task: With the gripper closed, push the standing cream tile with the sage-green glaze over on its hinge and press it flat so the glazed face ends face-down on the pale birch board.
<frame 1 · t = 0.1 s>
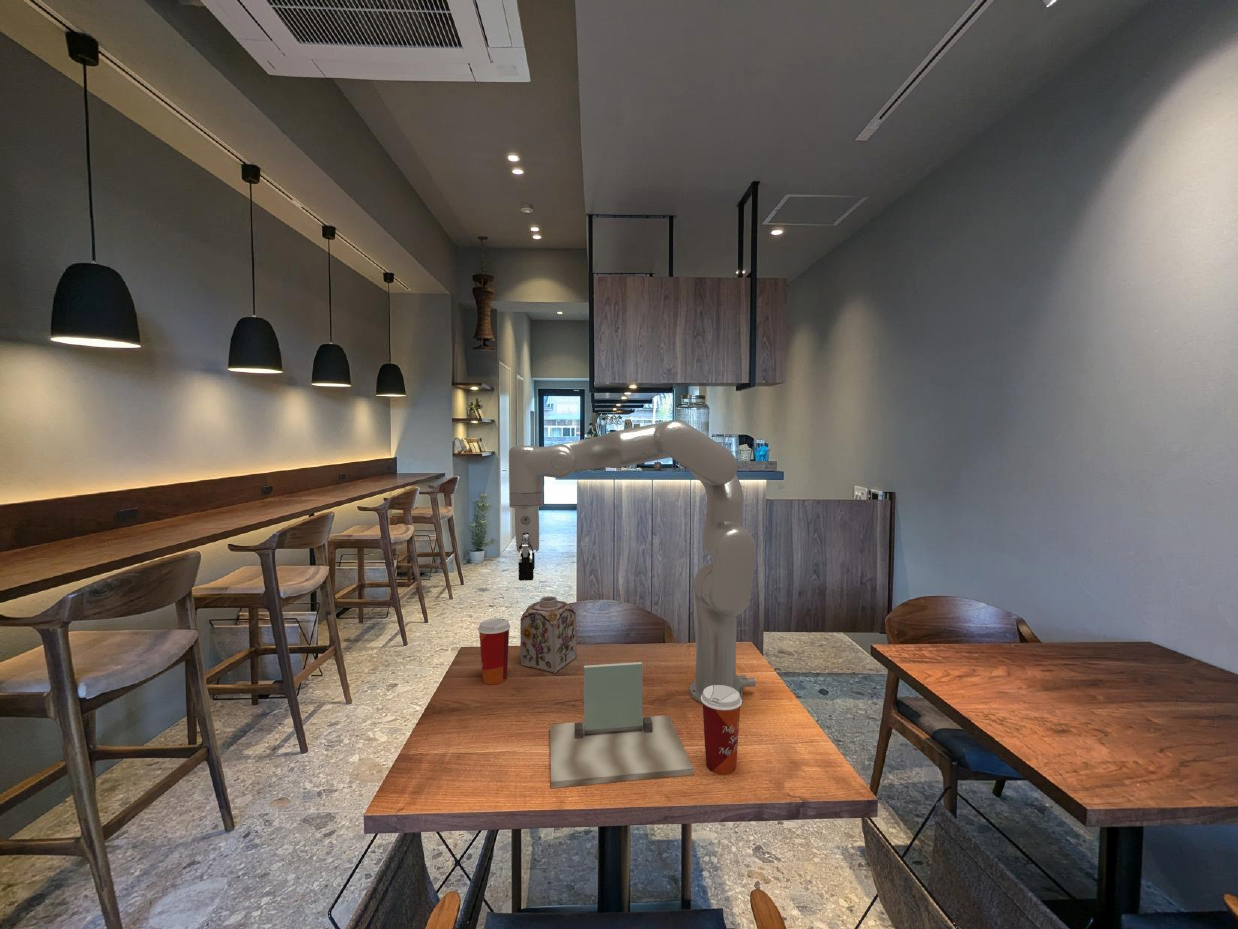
hand: (526, 574, 119), 31 cm above the table, tool pointing down, fingers open, 9 cm apart
tile board: (616, 750, 103), on the table
paper cup: (721, 766, 99), on the table
coffee cup: (494, 680, 135), on the table
glazed tile: (613, 698, 108), point 8 cm above the table, hinge at 0.0°
decorative jar: (549, 662, 146), on the table
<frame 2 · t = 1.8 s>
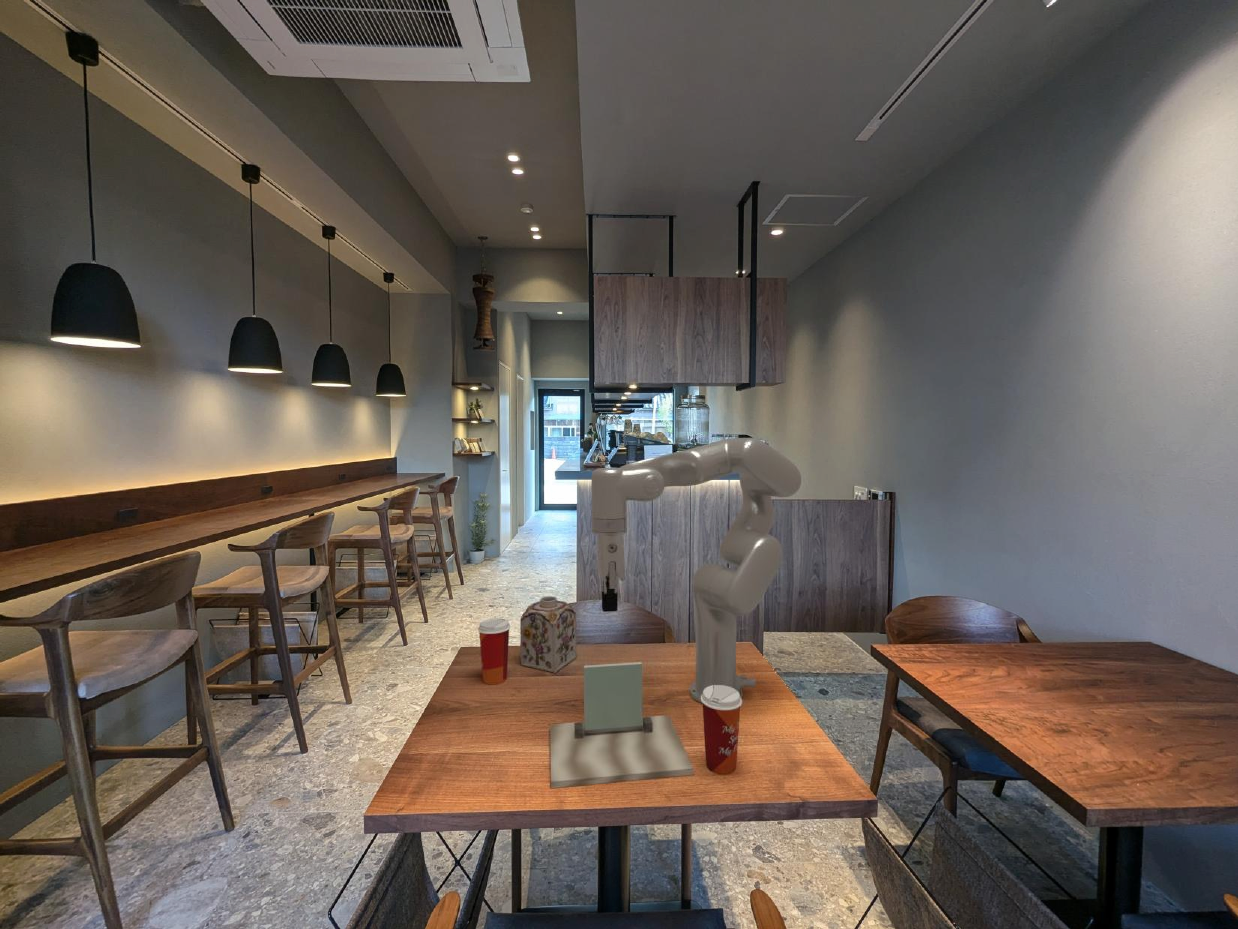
hand: (609, 610, 112), 25 cm above the table, tool pointing down, fingers closed
nothing on the table moved.
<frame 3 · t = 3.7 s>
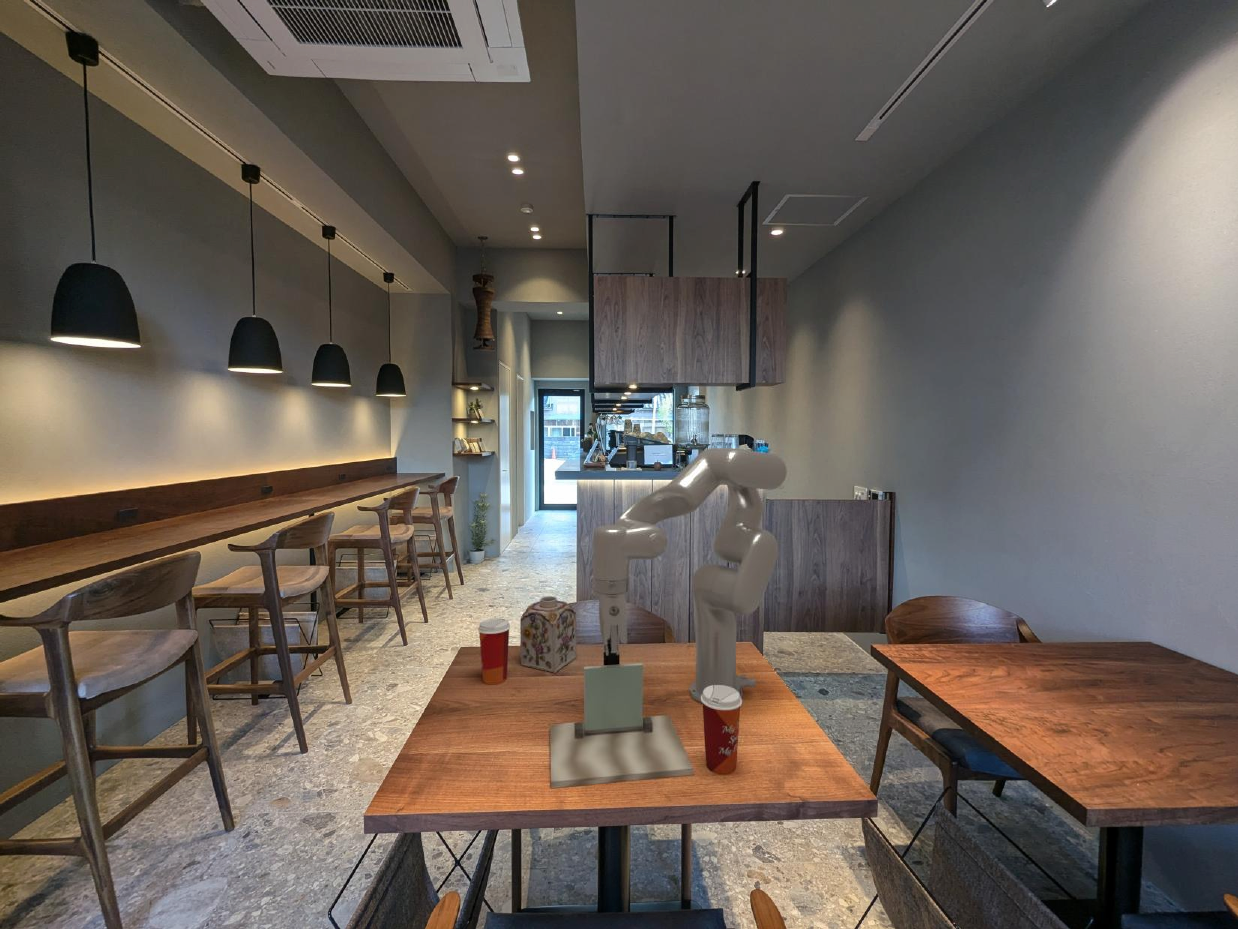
hand: (611, 671, 109), 13 cm above the table, tool pointing down, fingers closed
glazed tile: (613, 698, 107), point 8 cm above the table, hinge at -2.3°, touching gripper
everything else where it was.
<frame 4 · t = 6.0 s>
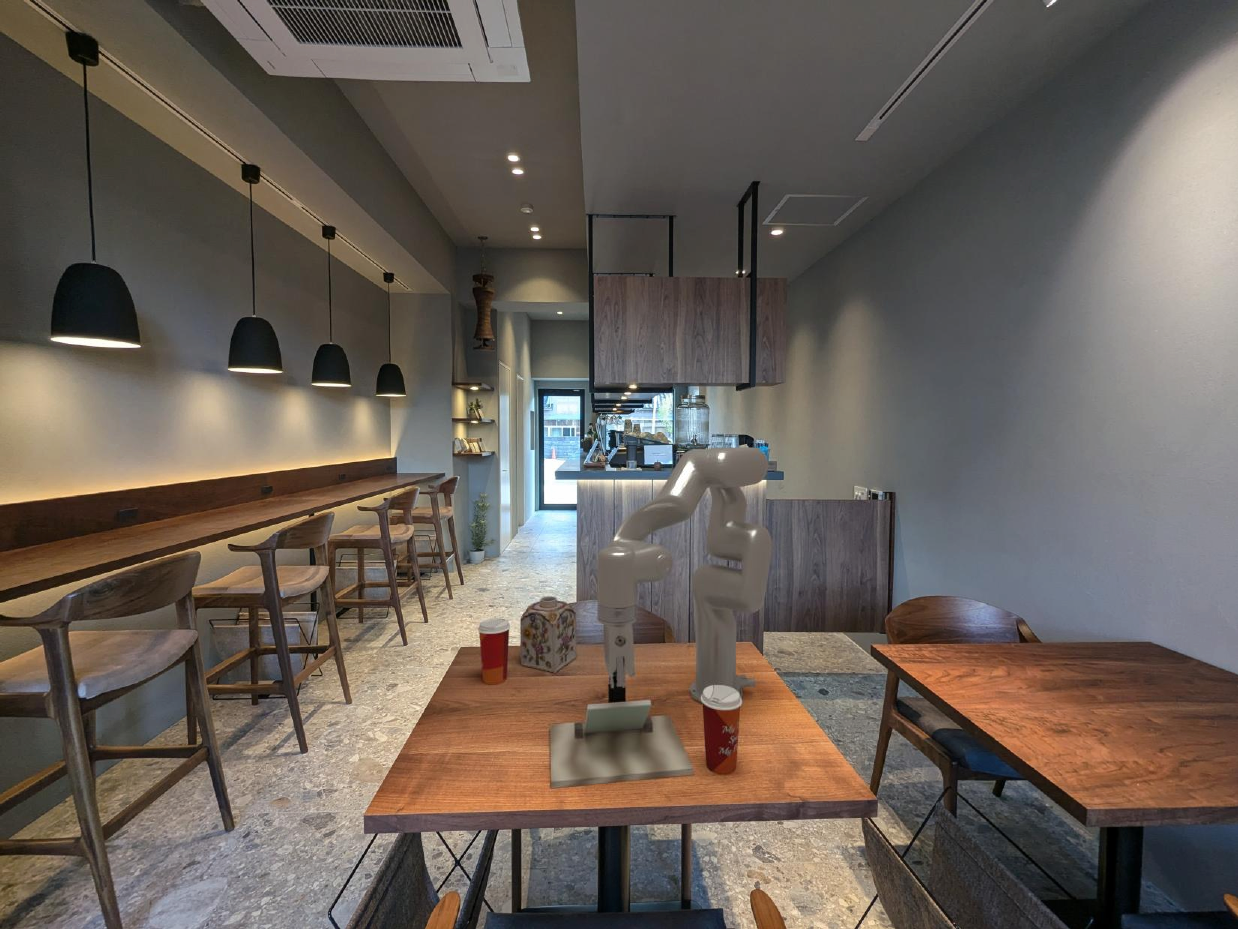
hand: (616, 705, 101), 10 cm above the table, tool pointing down, fingers closed
glazed tile: (616, 717, 103), point 7 cm above the table, hinge at -43.8°, touching gripper
everything else where it was.
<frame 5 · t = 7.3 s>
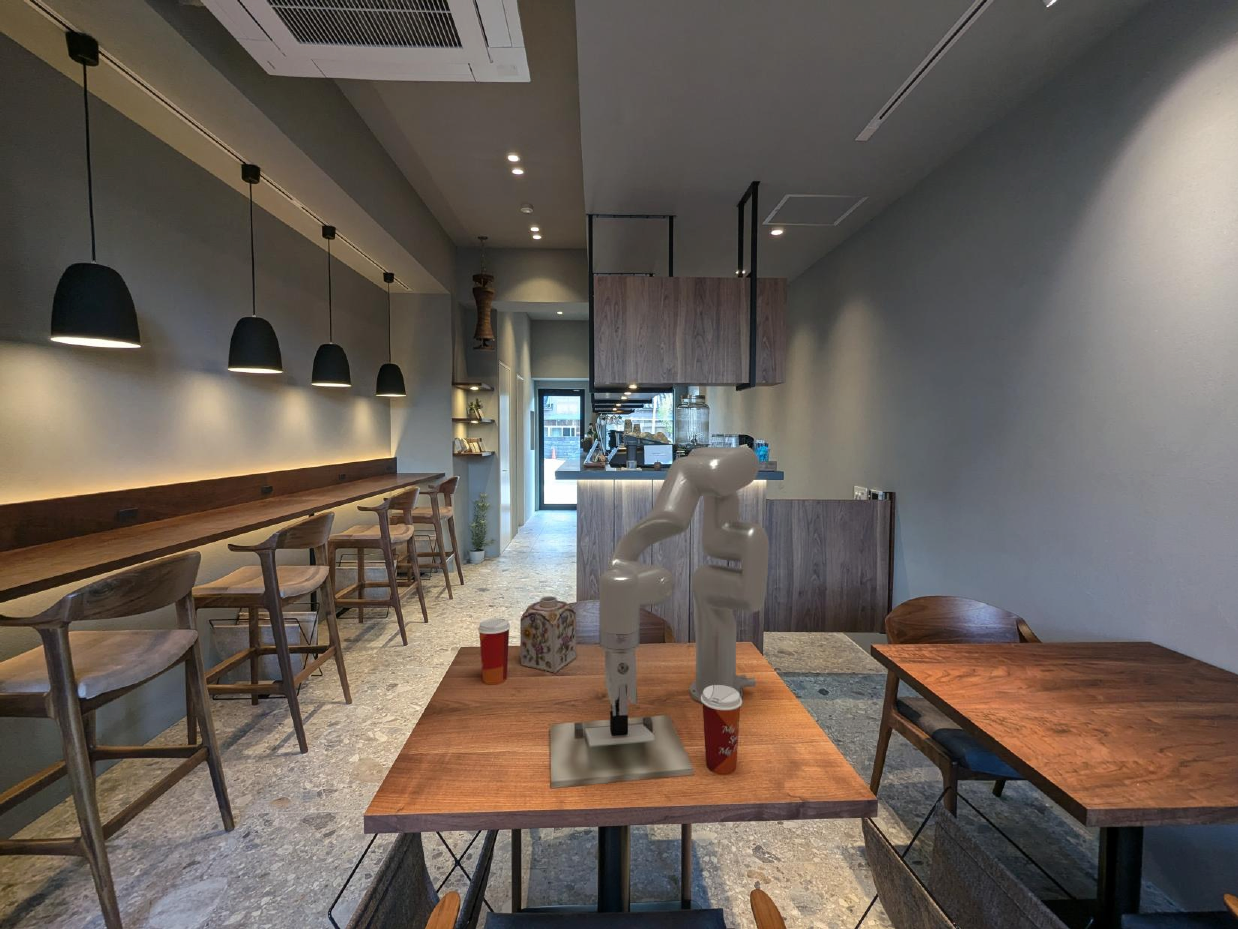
hand: (618, 733, 99), 6 cm above the table, tool pointing down, fingers closed
glazed tile: (617, 734, 102), point 4 cm above the table, hinge at -69.8°, touching gripper
everything else where it was.
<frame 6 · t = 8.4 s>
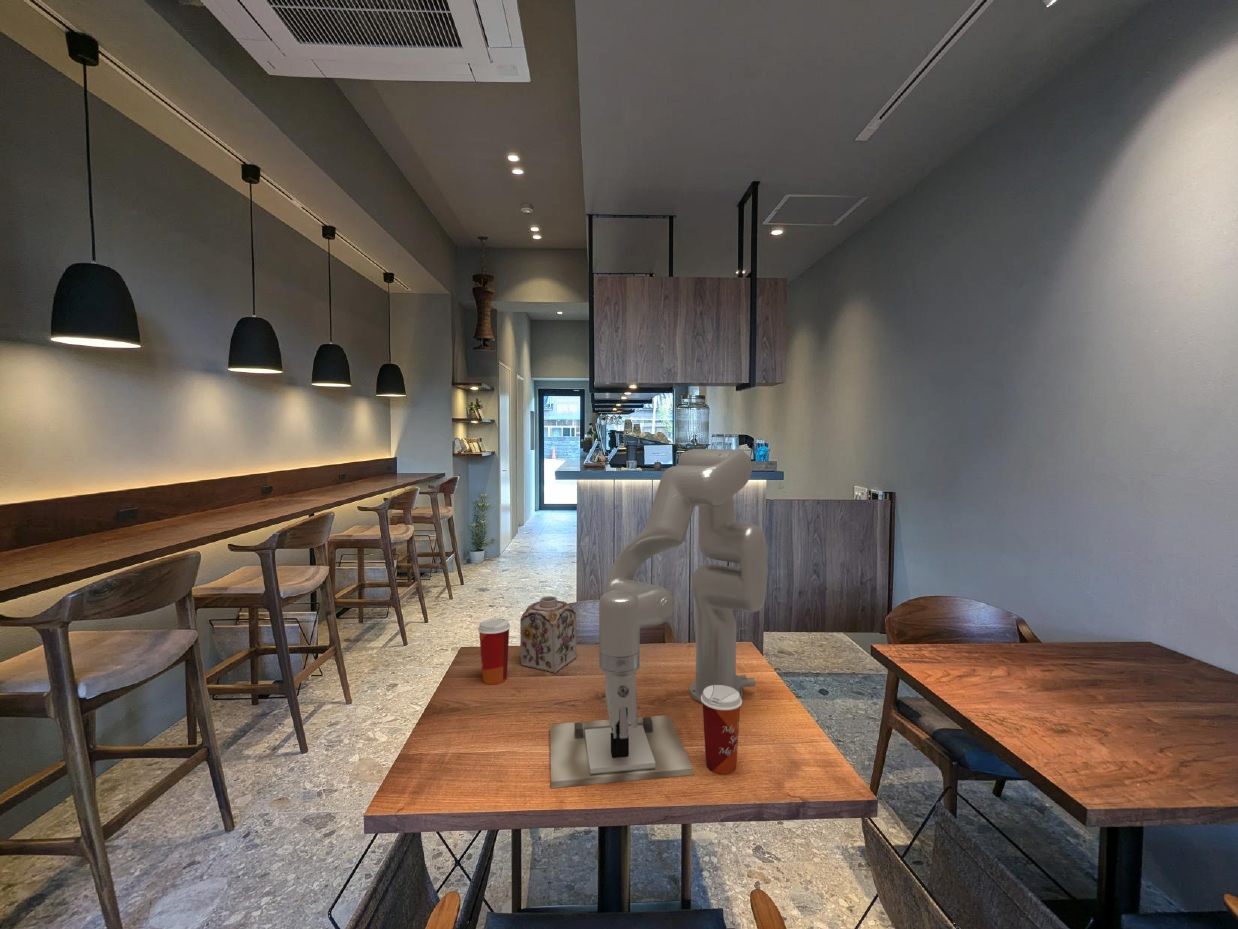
hand: (619, 755, 98), 3 cm above the table, tool pointing down, fingers closed
glazed tile: (617, 746, 101), point 2 cm above the table, hinge at -90.0°, touching gripper
everything else where it was.
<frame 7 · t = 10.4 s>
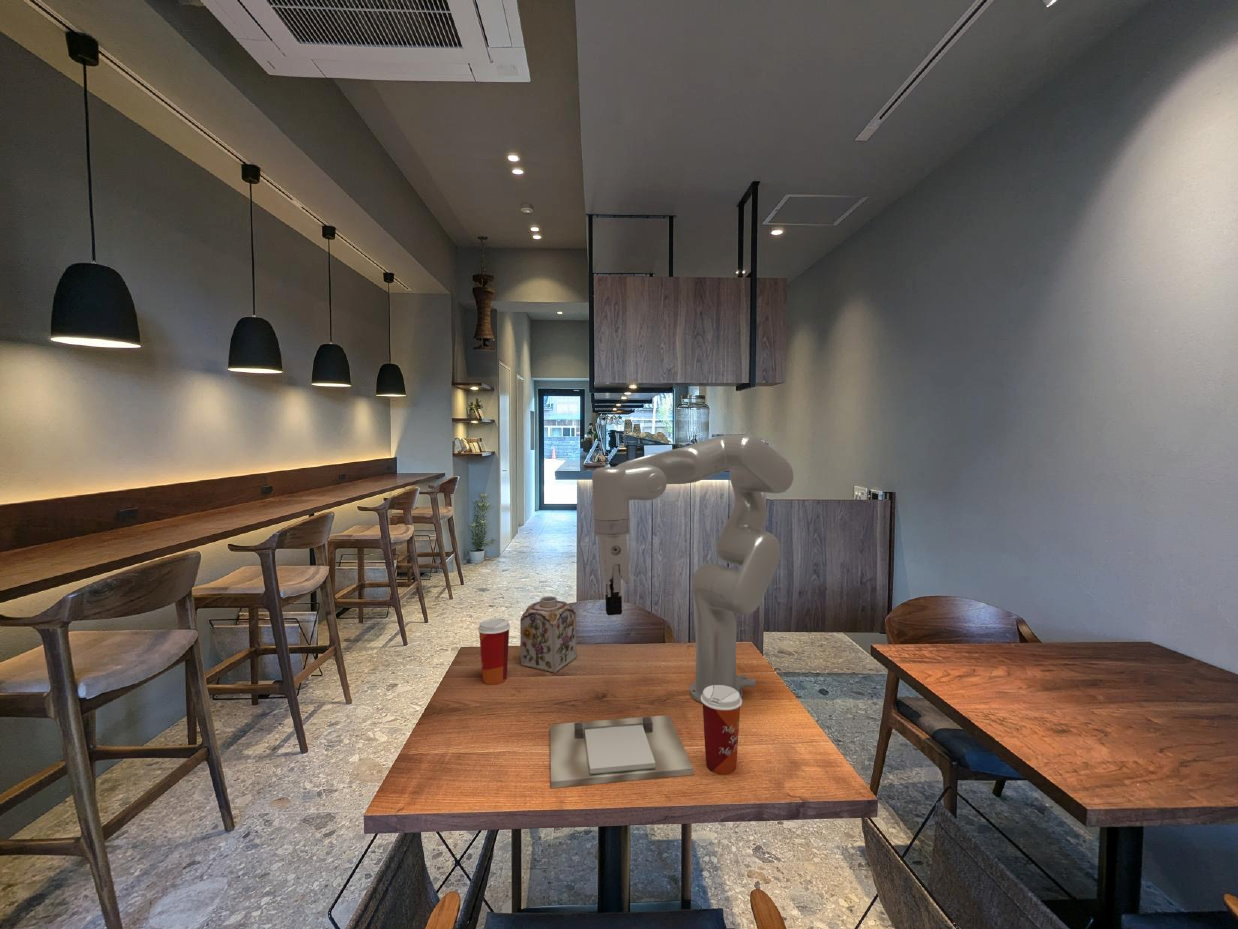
hand: (613, 613, 109), 25 cm above the table, tool pointing down, fingers closed
glazed tile: (617, 746, 101), point 2 cm above the table, hinge at -90.0°
everything else where it was.
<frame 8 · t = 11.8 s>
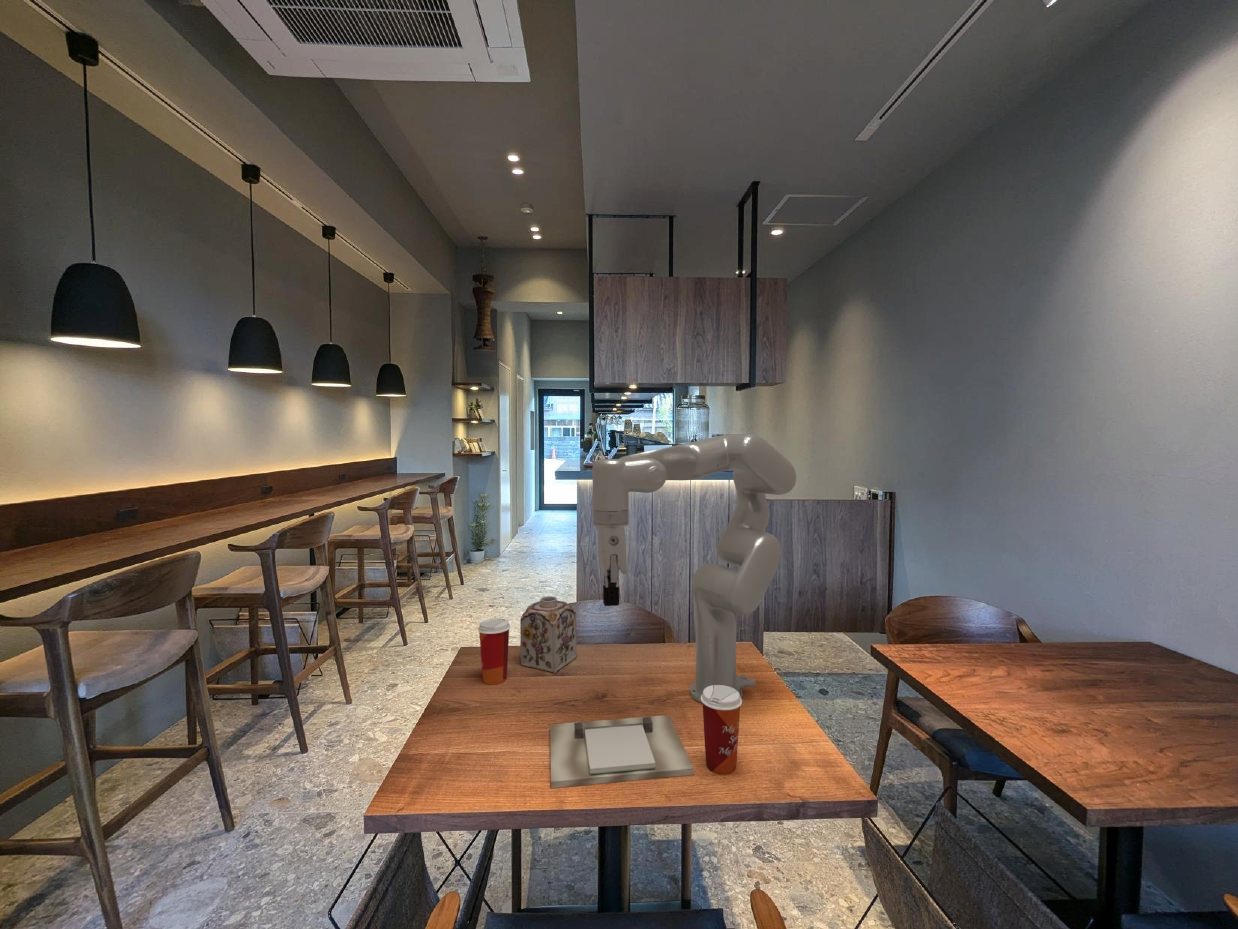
hand: (611, 604, 110), 27 cm above the table, tool pointing down, fingers closed
nothing on the table moved.
at the end: glazed tile at -90° (first picture: +0°) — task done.
